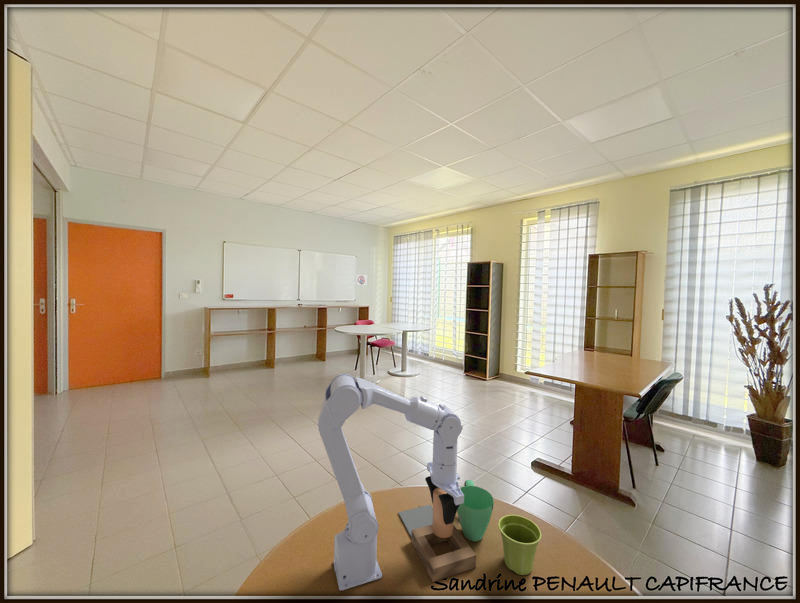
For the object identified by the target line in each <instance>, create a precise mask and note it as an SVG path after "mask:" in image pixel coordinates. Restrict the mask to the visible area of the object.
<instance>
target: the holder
mask: <svg viewBox="0 0 800 603" xmlns="http://www.w3.org/2000/svg"><path fill="white" fill-rule="evenodd" d="M410 539H411V540H410V541H411V544H412V546H413V547H414V549H416V550H415V551H416V553H417V555H418V557H419V559H420V561H421V563H422V565H423V566H424V568H425V570H426V572H427V575H428V576H429V578H430V580H431V582H432V583H434V582H437V581H441V580H444V579H446V578H449V577H452V576H455V575H458V574H462V573H463V572H467V571H471V570H472V569H476V568H477V554H476V553H475V552H474V550H473V549H472V547H471V546H470V544H468V542H467V541H466V539H465V538H464V536H462V533H461V532H460V531H459V530H458V529H457V527H456V526H455V525H454V524H453V534H452V535H451V536H450V537H448V538H441V537H438V536H436V535H435V534H434V533H433V531H432V525H428V526H425V527H421V528H417V529H414V530H412V533H411V536H410ZM446 541H447V542H448V544H449V545H450V546H451V548H452V550H453V551H450V552H447V553H444V554H443V553H442V554H440V555H436V553H435V551H434V549H433V548H432V545H437V544H440V543H443V542H446Z"/></svg>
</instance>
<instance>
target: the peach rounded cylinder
mask: <svg viewBox="0 0 800 603" xmlns="http://www.w3.org/2000/svg"><path fill="white" fill-rule="evenodd" d="M442 494H447V493H446V492H445V491H443V490H442V489H440V488H439V487H438V488H436V489H435V490H434V491H433V504H432V508H433V520H432V531H433V533H434V534H435V535H436V536H438V537H441V538H448V537H450V536H451V535H452V534H453V525H454V522H453V523H451V524H448V525H446V524H445V523H444V519H443V508H442V504H441V501H440V499H439V495H442Z"/></svg>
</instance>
